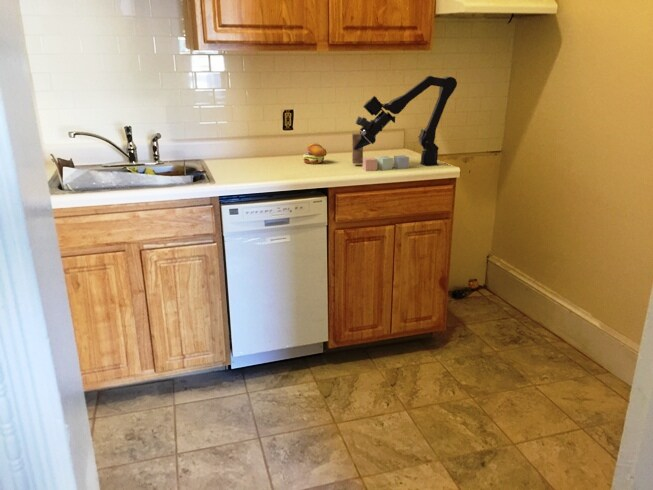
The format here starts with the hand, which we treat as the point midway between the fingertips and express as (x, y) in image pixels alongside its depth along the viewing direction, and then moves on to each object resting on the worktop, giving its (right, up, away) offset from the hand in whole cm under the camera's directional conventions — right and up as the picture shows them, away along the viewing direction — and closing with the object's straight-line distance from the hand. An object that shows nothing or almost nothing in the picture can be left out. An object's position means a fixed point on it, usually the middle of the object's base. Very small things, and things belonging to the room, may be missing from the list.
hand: (354, 148), depth 248 cm
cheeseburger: (-18, -5, +10) cm, 21 cm away
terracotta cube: (+6, -11, -7) cm, 14 cm away
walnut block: (+1, -6, +2) cm, 7 cm away
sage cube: (+13, -10, -5) cm, 17 cm away
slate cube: (+21, -9, -3) cm, 23 cm away
